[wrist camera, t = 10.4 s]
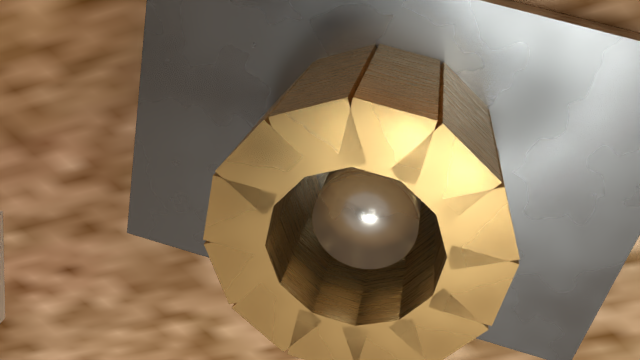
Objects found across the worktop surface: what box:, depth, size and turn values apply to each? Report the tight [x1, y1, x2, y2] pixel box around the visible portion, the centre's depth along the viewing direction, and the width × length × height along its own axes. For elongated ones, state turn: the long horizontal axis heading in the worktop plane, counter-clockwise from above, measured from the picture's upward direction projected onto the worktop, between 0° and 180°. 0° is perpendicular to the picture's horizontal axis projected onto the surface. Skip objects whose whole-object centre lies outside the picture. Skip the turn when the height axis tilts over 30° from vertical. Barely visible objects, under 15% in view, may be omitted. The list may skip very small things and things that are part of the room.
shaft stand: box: [127, 0, 640, 360], centre depth 20 cm, size 18×12×6 cm, turn 78°
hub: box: [203, 44, 520, 360], centre depth 18 cm, size 8×8×6 cm
